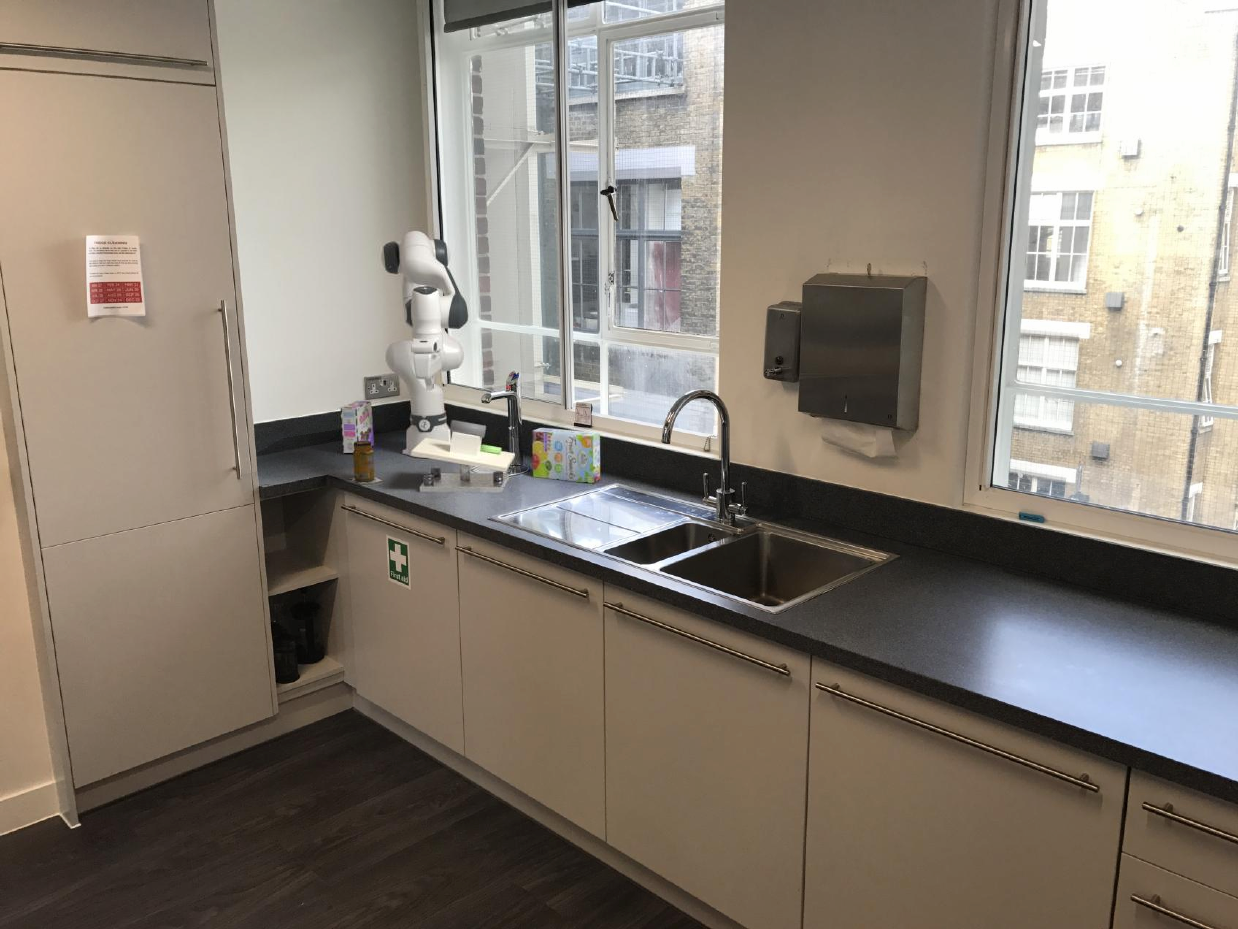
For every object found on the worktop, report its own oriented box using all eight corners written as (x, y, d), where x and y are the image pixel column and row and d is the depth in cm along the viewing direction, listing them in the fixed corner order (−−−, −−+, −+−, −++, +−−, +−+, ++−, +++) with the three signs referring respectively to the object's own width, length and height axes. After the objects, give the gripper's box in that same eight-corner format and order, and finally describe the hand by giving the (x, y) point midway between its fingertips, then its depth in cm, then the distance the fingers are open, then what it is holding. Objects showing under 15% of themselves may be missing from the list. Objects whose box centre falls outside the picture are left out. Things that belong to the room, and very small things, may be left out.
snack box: (601, 480, 310) (600, 432, 306) (593, 484, 305) (592, 435, 301) (540, 473, 319) (539, 426, 315) (532, 477, 314) (530, 429, 310)
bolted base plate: (420, 491, 297) (418, 465, 295) (431, 478, 313) (430, 453, 311) (500, 492, 296) (500, 466, 294) (508, 478, 312) (508, 453, 310)
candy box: (359, 454, 344) (355, 407, 340) (342, 454, 345) (339, 406, 341) (374, 446, 357) (371, 400, 353) (359, 445, 358) (356, 399, 354)
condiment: (370, 476, 316) (367, 438, 313) (382, 481, 310) (380, 443, 307) (348, 479, 312) (345, 441, 309) (360, 485, 305) (357, 446, 302)
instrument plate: (411, 454, 294) (415, 420, 291) (425, 441, 311) (429, 409, 309) (505, 471, 294) (510, 437, 291) (514, 457, 311) (519, 425, 309)
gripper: (424, 338, 305) (427, 383, 309) (409, 347, 286) (412, 395, 289) (445, 338, 305) (447, 383, 309) (431, 347, 285) (434, 395, 289)
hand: (430, 389), depth 299 cm, fingers closed
